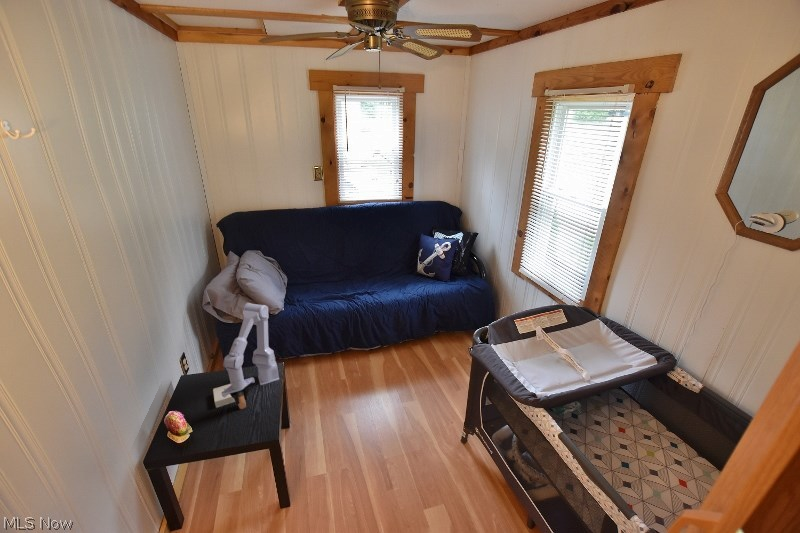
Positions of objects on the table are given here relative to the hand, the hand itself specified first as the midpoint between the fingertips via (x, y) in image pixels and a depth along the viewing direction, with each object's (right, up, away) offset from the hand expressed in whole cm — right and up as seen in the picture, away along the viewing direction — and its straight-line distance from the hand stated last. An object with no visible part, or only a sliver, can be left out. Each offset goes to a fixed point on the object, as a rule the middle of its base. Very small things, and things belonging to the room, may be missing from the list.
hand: (241, 400), depth 172 cm
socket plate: (-8, 0, +8) cm, 11 cm away
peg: (0, -3, +1) cm, 3 cm away
